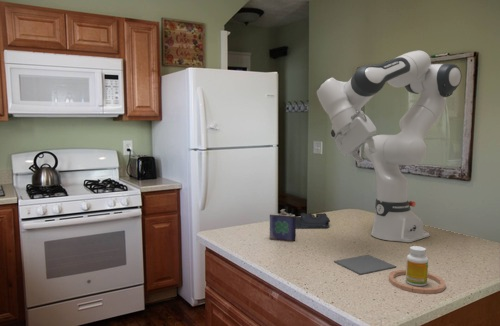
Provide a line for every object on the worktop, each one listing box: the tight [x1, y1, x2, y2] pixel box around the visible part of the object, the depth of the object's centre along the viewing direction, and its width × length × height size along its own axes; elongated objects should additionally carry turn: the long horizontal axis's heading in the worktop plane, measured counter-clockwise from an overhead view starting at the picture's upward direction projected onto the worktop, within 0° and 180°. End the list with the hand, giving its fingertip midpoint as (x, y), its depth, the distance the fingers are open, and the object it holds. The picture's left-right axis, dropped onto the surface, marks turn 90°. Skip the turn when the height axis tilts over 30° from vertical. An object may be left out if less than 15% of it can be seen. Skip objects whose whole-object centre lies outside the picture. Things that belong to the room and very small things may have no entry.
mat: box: [333, 254, 397, 276], centre depth 124 cm, size 14×12×1 cm
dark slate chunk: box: [295, 212, 331, 230], centre depth 174 cm, size 15×22×5 cm
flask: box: [269, 208, 297, 243], centre depth 150 cm, size 10×3×12 cm, turn 71°
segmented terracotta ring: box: [388, 269, 447, 295], centre depth 110 cm, size 14×14×1 cm
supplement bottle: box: [405, 245, 429, 287], centre depth 110 cm, size 5×5×10 cm
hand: (367, 157), depth 133 cm, fingers open, 8 cm apart
